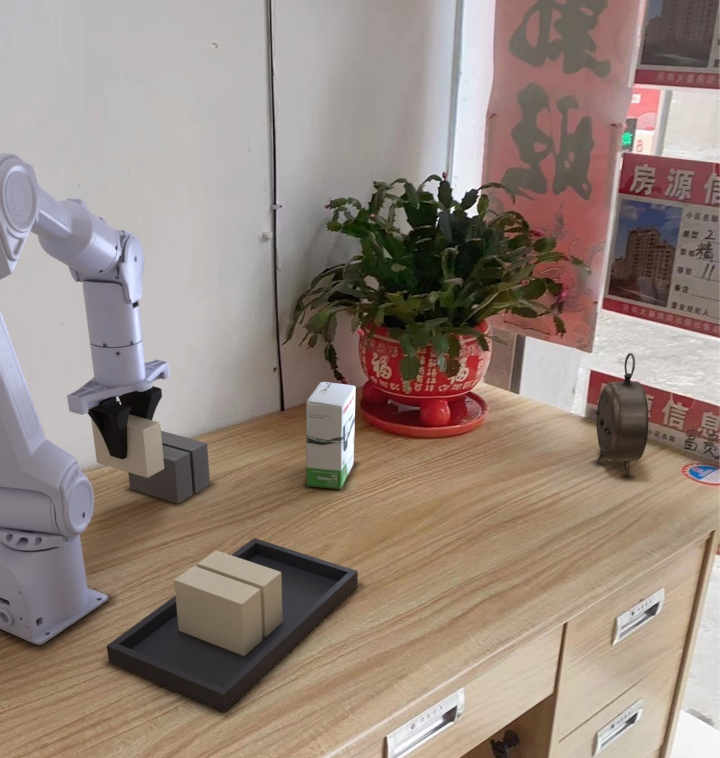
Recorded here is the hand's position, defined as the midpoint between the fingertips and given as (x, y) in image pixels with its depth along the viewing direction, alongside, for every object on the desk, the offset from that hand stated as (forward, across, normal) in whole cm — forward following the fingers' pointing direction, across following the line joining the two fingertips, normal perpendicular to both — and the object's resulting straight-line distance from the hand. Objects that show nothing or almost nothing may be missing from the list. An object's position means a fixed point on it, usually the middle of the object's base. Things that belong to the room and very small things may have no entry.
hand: (128, 451), depth 105 cm
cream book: (+2, 0, 0) cm, 2 cm away
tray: (+9, -12, -25) cm, 29 cm away
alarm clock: (+9, +46, -47) cm, 66 cm away
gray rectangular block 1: (+8, +6, +1) cm, 11 cm away
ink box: (+9, +22, -15) cm, 28 cm away
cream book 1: (+8, -15, -25) cm, 30 cm away
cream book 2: (+8, -12, -25) cm, 28 cm away
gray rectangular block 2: (+8, +10, +1) cm, 13 cm away
